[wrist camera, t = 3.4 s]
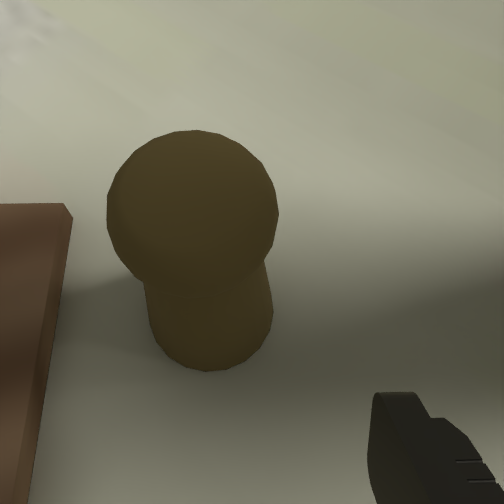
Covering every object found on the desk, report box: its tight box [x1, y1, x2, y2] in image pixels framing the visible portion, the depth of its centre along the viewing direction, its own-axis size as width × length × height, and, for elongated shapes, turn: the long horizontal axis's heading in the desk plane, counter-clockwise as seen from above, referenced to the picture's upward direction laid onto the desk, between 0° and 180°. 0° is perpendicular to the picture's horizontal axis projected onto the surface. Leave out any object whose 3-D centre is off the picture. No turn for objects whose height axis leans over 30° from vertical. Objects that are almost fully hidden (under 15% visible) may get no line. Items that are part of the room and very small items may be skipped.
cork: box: [107, 130, 279, 372], centre depth 18 cm, size 6×6×11 cm
